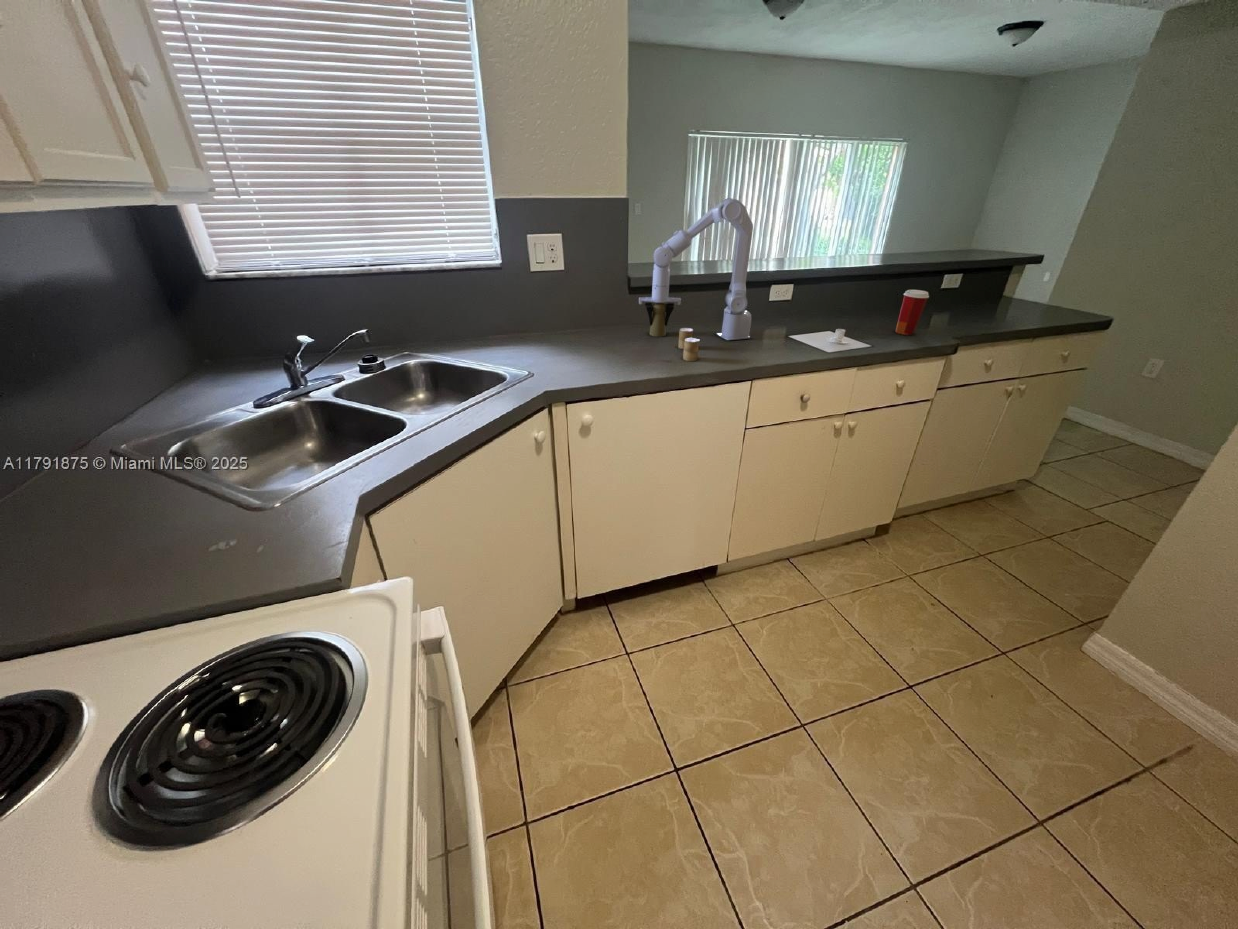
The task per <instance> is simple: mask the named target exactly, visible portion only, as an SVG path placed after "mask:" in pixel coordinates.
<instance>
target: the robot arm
mask: <svg viewBox="0 0 1238 929" xmlns="http://www.w3.org/2000/svg"><path fill="white" fill-rule="evenodd" d="M723 220H724V221H726V222H728V223H730V225H731V226H732V227H733V228H734V230H735V231H736V238H735V247H734V255H733V264H732V272H731V279H730V284H729V287H728V291H727V293H726V295H725V304H726V307H725V308H724V309H723V310H724V311H723V318H722V325H721V332H716V333H715V334H716V336H718V337H720V338H721V339H724V340H726V341H735V340H746V339H747V340H748V339H750V338H751V336H750V332H751V327H752V326H751V325H752V314H751V312H750V311H748V310H746V309H747V308H748V299H747V285H746V284H747V275H748V269H749V261H750V254H751V247H752V240H753V232H754V224H753V221H752V219H751V216H750V214H749V212H748V210H747V207H746V205H744V203H742V202H741V201H740V200H738V199H736V198H733V197H728V198H725V199H724V200H722V201H721V202H720V203H717V204H716V205H715V206H713V207H711V208H710V209H709V210H708V211H707V212H706V213H705V214H703V215H702V216H701V217H700V218H699V219H697V221H695V222H694V223H693V224H692V225H691V226H689V227H688V229H686V230H682V229H680V230H676V231H675V232H673V235H672V236H671V237H670V238H669V239H668V240H666V242H665V241H663V242H662V243H661V246H659V247H657V248H656V249H655V250H654V252H653V260H654V261H653V262H654V264H653V270H652V284H651V285H652V287H651V290H652V291H651V296H643V297H642V296H641V297H640V296H639V297H638V304H639V305H644V307H645V309H646V312H647V315H648V322H649V326H651V325H652V316H653V311H652V310H653V307H652V305H653V304H656V303H663V304H666V307H667V309H666V312H665V326H668V323H669V320H670V317H671V314H672V313H673V311H674V309H675V305H678V306H680V305H682V302H681V301H682V298H681V297H670V296H669V293H670V292H669V291H670V277H671V271H670V266H671V263H672V261H673V260H672V259H674V258H677V257H678V256H679V255H680V254H682V253H683V252H684V251H685V250H686V249H688V248H689V247H690V246H691V245H692V240H693V239H694V238H695V237H696V236H698V235H699V234H700V233H702V232H703V231H705V229H707V228H709V227H710V226H711V225H712V224H717V223H723V222H724V221H723Z"/></svg>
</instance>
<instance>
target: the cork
mask: <svg viewBox="0 0 1238 929" xmlns="http://www.w3.org/2000/svg"><path fill="white" fill-rule="evenodd" d="M652 307H653V310H652V325H650V326H649V335H650V336H651V337H658V338H659V337H661V338H662V337H666V335H667V329H666V328H667V327H666V326H665V314H666V309H667V307H666V304H663V303H656V304H652Z"/></svg>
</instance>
